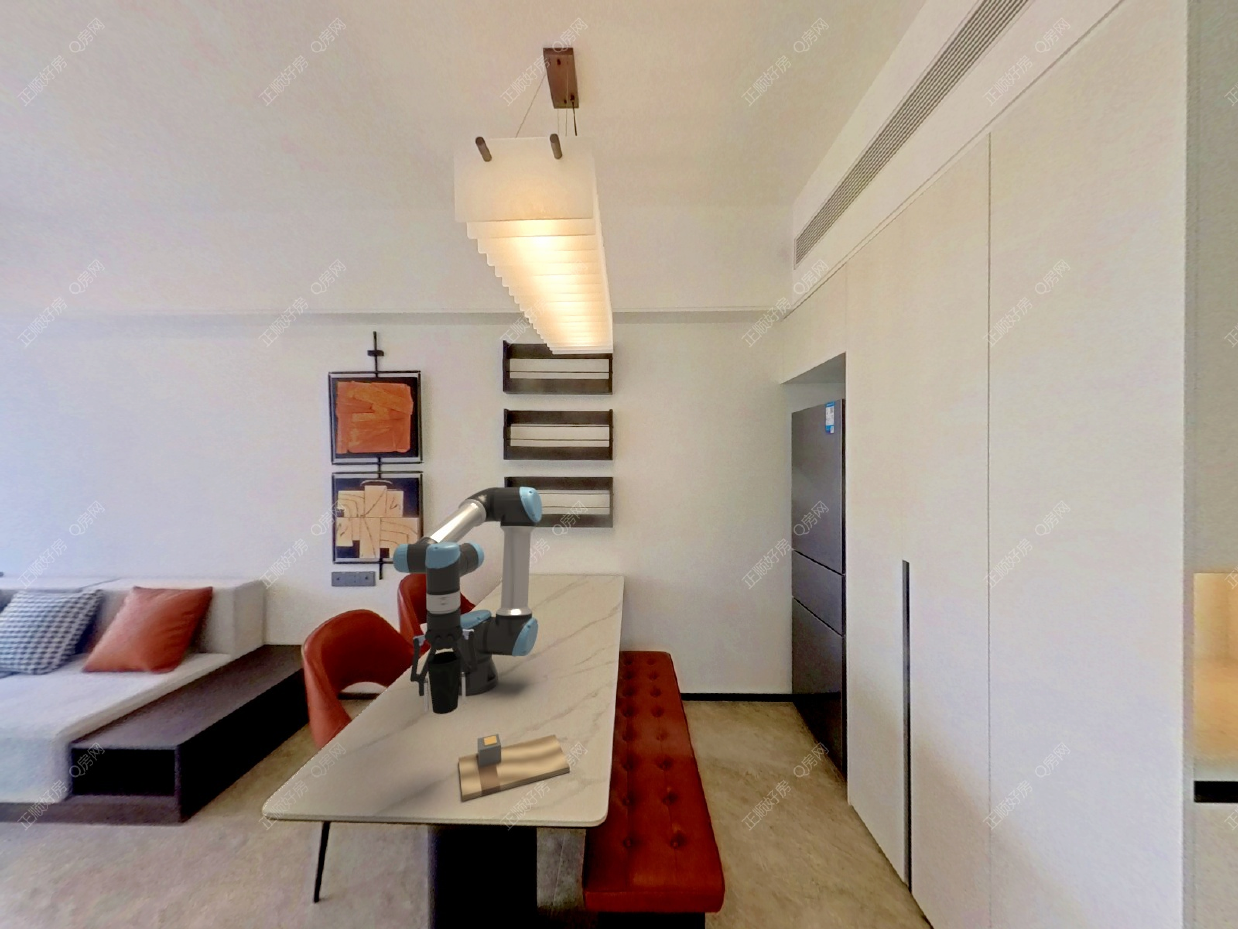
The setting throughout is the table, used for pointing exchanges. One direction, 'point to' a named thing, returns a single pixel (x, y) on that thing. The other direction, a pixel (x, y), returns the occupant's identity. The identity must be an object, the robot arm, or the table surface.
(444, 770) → the table surface
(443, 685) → the cup
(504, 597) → the robot arm
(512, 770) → the panel
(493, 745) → the grey block
